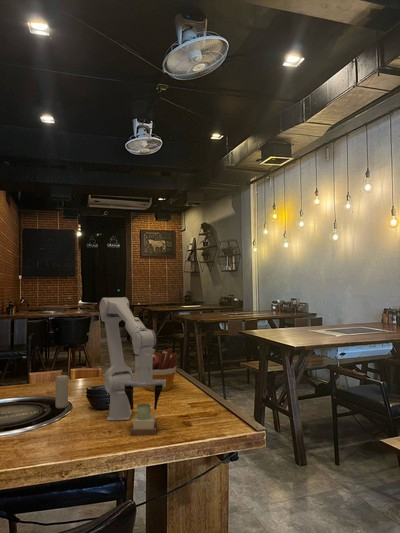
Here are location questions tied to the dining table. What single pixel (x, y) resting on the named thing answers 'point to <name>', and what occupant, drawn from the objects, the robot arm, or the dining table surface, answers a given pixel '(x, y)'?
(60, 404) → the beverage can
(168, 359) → the bucket of meat
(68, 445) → the dining table surface
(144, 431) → the base block
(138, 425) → the top block
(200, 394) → the dining table surface
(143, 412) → the green cylinder
